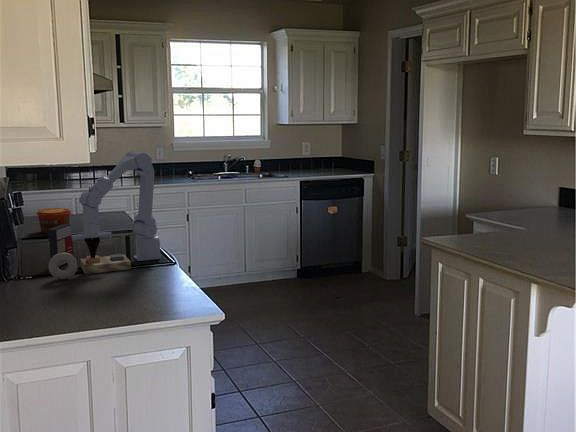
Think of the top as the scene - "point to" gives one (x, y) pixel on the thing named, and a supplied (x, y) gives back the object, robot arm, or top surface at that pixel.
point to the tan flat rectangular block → (105, 265)
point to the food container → (53, 218)
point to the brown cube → (92, 259)
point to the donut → (63, 258)
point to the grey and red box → (60, 240)
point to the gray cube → (116, 257)
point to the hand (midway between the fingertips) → (92, 257)
